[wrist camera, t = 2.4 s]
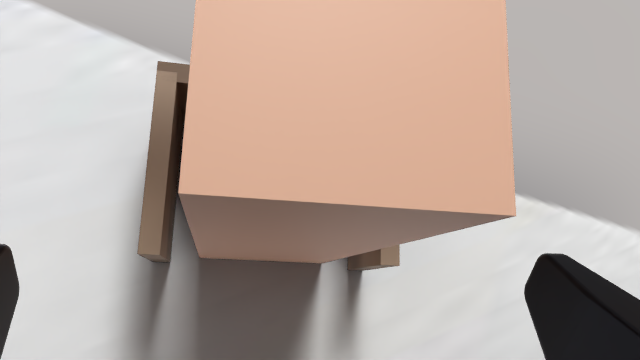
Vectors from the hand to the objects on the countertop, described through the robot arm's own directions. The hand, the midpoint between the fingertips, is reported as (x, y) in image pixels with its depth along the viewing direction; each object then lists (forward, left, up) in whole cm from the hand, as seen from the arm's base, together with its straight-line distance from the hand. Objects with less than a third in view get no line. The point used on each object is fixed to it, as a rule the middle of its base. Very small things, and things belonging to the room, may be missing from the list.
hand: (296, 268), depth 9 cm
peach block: (+1, -3, -10) cm, 11 cm away
